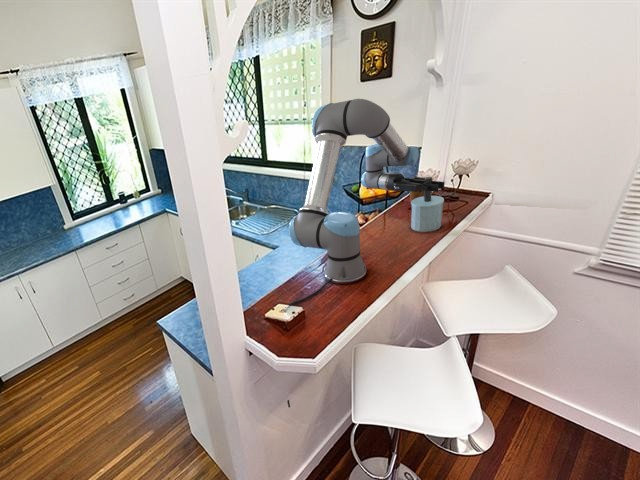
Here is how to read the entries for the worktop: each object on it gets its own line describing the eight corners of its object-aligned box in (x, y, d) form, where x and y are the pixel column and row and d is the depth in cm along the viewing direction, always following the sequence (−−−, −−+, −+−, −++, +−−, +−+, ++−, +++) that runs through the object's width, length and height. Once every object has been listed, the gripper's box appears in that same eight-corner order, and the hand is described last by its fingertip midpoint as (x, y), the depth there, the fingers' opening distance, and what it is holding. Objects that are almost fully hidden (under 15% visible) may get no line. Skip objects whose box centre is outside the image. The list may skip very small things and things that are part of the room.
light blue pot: (429, 234, 145) (430, 208, 139) (405, 229, 154) (406, 204, 149) (446, 225, 149) (449, 199, 143) (422, 220, 158) (424, 196, 152)
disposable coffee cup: (424, 201, 176) (426, 178, 170) (431, 207, 168) (433, 182, 162) (405, 205, 178) (405, 181, 172) (411, 211, 170) (411, 186, 164)
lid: (430, 210, 139) (432, 183, 134) (404, 206, 149) (405, 181, 144) (450, 200, 143) (452, 174, 138) (423, 196, 153) (425, 172, 148)
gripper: (403, 184, 161) (452, 190, 142) (379, 195, 156) (427, 202, 137) (404, 168, 157) (454, 171, 139) (379, 178, 152) (428, 183, 134)
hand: (440, 186), depth 138 cm, fingers closed on lid, 3 cm apart
